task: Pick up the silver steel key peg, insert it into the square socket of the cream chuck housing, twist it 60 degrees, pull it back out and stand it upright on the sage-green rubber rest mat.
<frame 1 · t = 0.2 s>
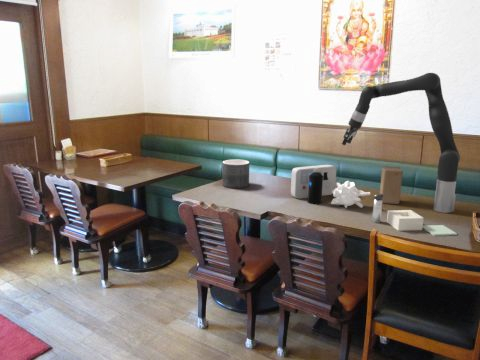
hand: (346, 143, 243), 31 cm above the table, tool tilted 20°, fingers open, 8 cm apart
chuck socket: (403, 225, 197), on the table
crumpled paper: (346, 206, 227), on the table
black tall cylinder: (314, 202, 233), on the table
wooden block: (388, 201, 236), on the table
rest mat: (438, 231, 190), on the table
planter: (235, 185, 269), on the table
key peg: (376, 221, 202), on the table
rounded white slab: (312, 195, 247), on the table
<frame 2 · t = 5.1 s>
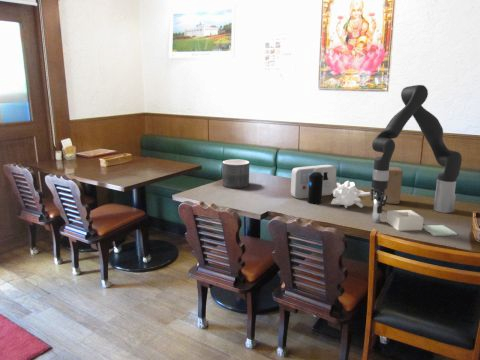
hand: (377, 211, 201), 5 cm above the table, tool pointing down, fingers closed on key peg, 4 cm apart
key peg: (376, 221, 202), on the table, touching gripper
everything else where it was.
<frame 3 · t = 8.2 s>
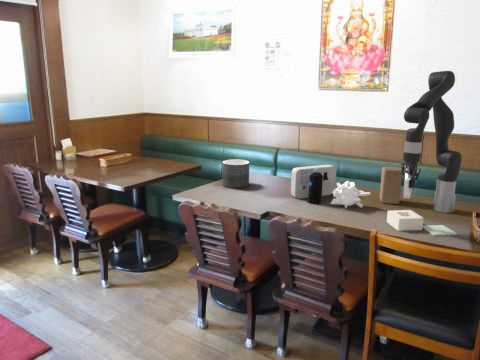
hand: (408, 186, 192), 20 cm above the table, tool pointing down, fingers closed on key peg, 4 cm apart
key peg: (407, 197, 193), point 15 cm above the table, touching gripper
everything else where it was.
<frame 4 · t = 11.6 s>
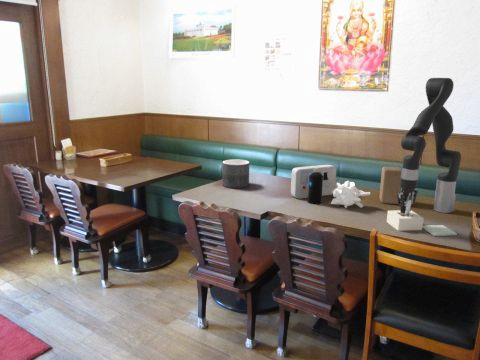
hand: (405, 211, 195), 7 cm above the table, tool pointing down, fingers closed on key peg, 4 cm apart
key peg: (404, 222, 196), point 2 cm above the table, touching gripper
everything else where it was.
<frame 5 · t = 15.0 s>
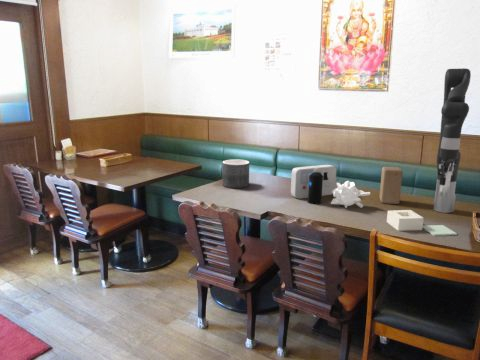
hand: (444, 184, 185), 23 cm above the table, tool pointing down, fingers closed on key peg, 4 cm apart
key peg: (443, 195, 186), point 18 cm above the table, touching gripper
everything else where it was.
when the fingers open (7 cm above the table, at t = 18.2 s): key peg drops 1 cm, resting on rest mat.
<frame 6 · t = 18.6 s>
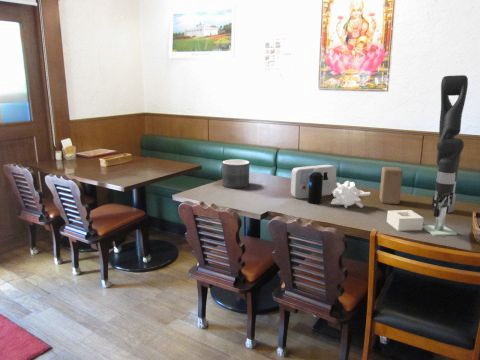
hand: (440, 215, 188), 8 cm above the table, tool pointing down, fingers open, 7 cm apart
key peg: (438, 229, 190), point 1 cm above the table, touching rest mat
everything else where it was.
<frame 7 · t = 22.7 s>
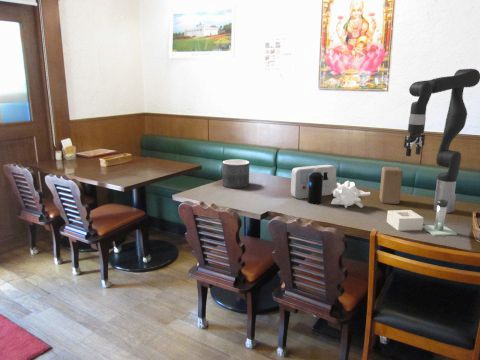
hand: (413, 155, 204), 32 cm above the table, tool pointing down, fingers open, 8 cm apart
nothing on the table moved.
at the end: key peg inside the target area on the rest mat (0.0 cm from its centre), point 0.8 cm above the rest mat's base; key peg tilted 0°; the gripper is holding nothing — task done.
